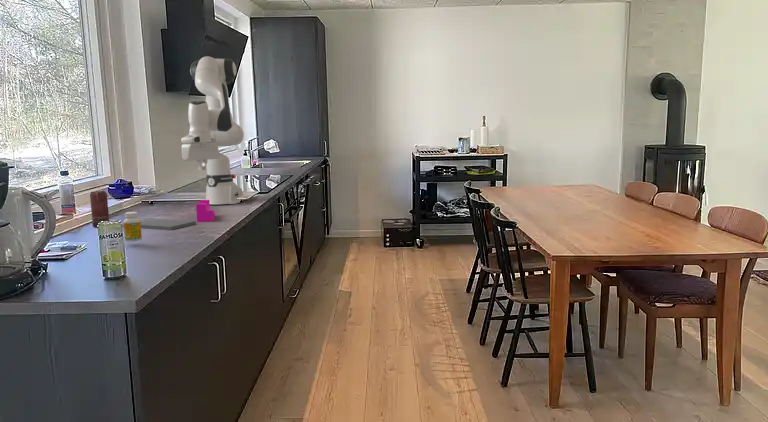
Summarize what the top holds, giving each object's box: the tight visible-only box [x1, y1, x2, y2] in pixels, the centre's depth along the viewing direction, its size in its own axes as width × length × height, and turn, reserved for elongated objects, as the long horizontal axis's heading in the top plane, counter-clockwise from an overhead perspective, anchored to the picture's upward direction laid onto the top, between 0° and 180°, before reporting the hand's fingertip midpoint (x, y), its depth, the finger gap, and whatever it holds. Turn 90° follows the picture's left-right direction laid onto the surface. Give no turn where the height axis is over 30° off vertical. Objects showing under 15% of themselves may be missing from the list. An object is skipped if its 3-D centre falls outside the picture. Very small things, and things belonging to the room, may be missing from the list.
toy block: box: [195, 199, 216, 223], centre depth 245 cm, size 15×6×8 cm, turn 11°
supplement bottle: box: [123, 211, 143, 242], centre depth 200 cm, size 5×5×10 cm
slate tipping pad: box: [140, 217, 197, 231], centre depth 231 cm, size 14×24×1 cm, turn 67°
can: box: [89, 190, 110, 228], centre depth 230 cm, size 6×6×14 cm
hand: (202, 170), depth 252 cm, fingers closed
